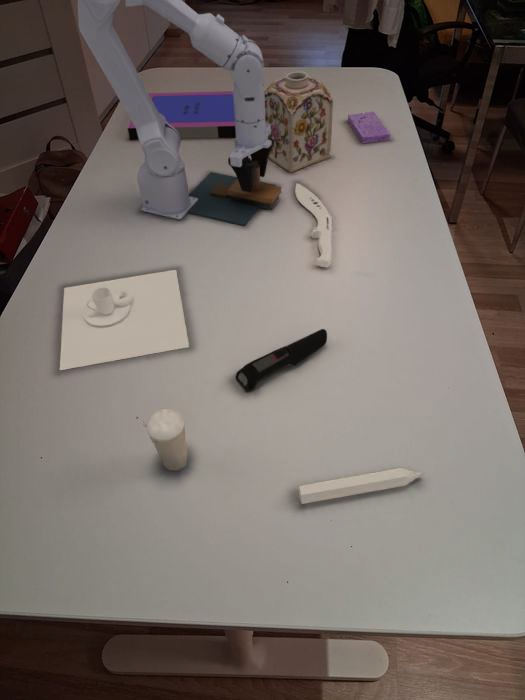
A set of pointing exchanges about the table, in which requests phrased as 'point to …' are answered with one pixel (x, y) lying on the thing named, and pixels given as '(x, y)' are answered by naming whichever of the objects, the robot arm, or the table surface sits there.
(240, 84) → the robot arm
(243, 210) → the mat
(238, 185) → the brush
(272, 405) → the table surface
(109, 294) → the teacup and saucer
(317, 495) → the white pencil
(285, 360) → the electric trimmer
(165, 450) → the milkshake
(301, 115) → the decorative jar
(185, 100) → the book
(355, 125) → the sponge
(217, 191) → the grime chip
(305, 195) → the knife
